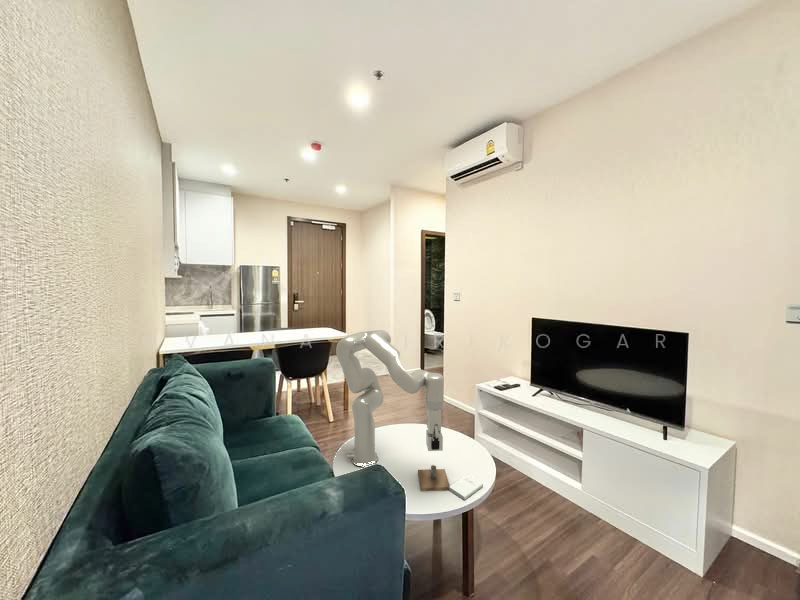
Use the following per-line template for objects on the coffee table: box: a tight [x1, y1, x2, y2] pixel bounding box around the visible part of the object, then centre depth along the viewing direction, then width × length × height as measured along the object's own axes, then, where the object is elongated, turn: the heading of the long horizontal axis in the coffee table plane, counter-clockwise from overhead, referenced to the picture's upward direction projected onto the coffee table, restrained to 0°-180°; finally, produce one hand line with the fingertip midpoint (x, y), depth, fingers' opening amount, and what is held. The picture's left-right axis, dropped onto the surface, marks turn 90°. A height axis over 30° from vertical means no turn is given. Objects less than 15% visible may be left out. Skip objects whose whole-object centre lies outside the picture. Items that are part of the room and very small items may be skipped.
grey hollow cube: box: [425, 429, 444, 452], centre depth 136 cm, size 6×6×6 cm
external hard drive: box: [448, 474, 484, 501], centre depth 134 cm, size 2×8×12 cm
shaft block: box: [417, 464, 451, 492], centre depth 138 cm, size 12×12×6 cm
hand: (434, 444), depth 137 cm, fingers closed on grey hollow cube, 6 cm apart
